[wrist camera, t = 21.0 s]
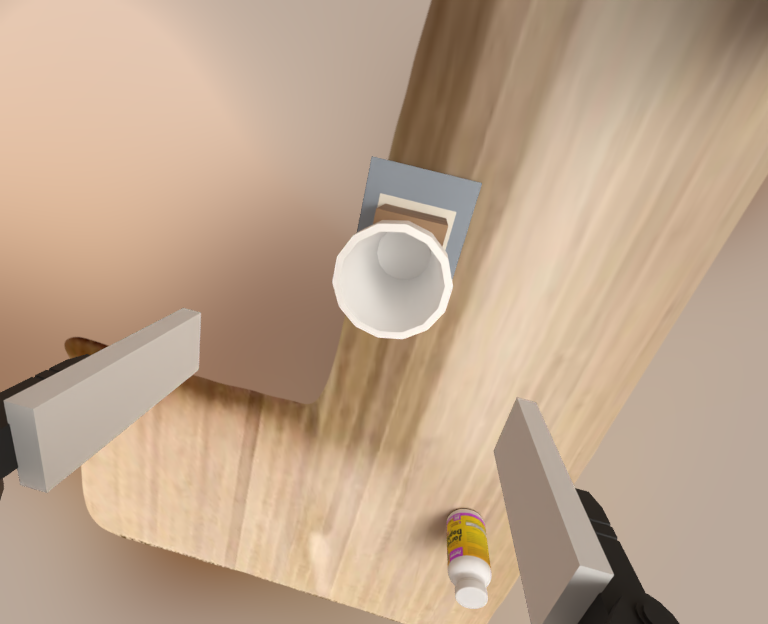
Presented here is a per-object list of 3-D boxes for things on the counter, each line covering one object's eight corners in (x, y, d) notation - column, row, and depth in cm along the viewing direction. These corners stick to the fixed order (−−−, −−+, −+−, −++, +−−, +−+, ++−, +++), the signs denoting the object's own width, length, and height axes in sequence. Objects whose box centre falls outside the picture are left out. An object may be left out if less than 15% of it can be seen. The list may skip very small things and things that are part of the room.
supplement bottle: (458, 501, 63) (463, 576, 51) (491, 517, 64) (504, 595, 52) (439, 524, 66) (440, 600, 54) (471, 539, 66) (479, 619, 54)
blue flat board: (373, 156, 46) (371, 156, 45) (481, 183, 45) (482, 183, 44) (347, 288, 52) (345, 290, 51) (441, 312, 52) (441, 315, 51)
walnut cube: (385, 203, 47) (376, 208, 39) (446, 218, 46) (448, 225, 39) (372, 262, 49) (361, 277, 42) (429, 277, 49) (428, 294, 42)
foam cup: (346, 243, 41) (309, 271, 29) (412, 190, 38) (401, 195, 26) (397, 307, 43) (382, 359, 31) (463, 261, 40) (476, 298, 28)
